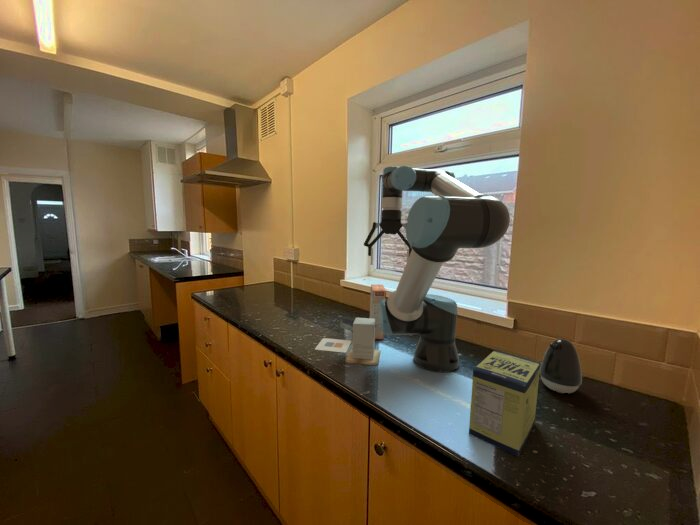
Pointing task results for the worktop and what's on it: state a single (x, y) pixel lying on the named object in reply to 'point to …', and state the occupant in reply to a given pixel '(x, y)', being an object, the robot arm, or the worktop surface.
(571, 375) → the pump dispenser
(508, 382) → the protein box
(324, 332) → the worktop surface
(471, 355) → the worktop surface
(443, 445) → the worktop surface
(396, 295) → the robot arm
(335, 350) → the tile
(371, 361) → the oak coaster
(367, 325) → the supplement box
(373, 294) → the cracker box
